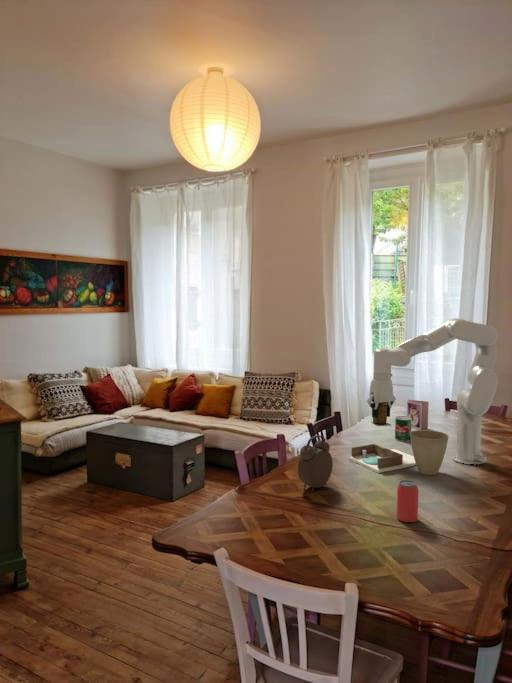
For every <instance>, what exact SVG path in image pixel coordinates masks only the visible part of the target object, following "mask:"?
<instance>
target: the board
mask: <svg viewBox="0 0 512 683" xmlns="http://www.w3.org/2000/svg"><path fill="white" fill-rule="evenodd" d="M390 450H391V451H394V452H397V453H399V454H402V455H403V463H402V464H401V465H396V466H391V467H386V468H381V469H378V458H383V457H381V456H379V455H376V454H374V453H372V454H366V450H363V455H361V456H355V457H352V456H349V457H348V460H349V461H351V462H354V463H355V464H357V463H358V465H359V464H360V466H362V467H364V468H366V469H368V470H370V471H372V472H374V471H375V473H377V474H379V473H381V474H382V473H385V471H386V472H389V471H396V470H399V469H406V468H410V467H415V466H417V465H416V462H415V459H414V455H411V454H408V453H405V452H403V451H400V450H398V449H396V448H393V449H390ZM414 465H415V466H414Z"/></svg>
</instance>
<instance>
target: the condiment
mask: <svg viewBox="0 0 512 683" xmlns="http://www.w3.org/2000/svg"><path fill="white" fill-rule="evenodd" d="M377 409H378V418H373V417H372V420H369V421H368V422H369V423H371V424H373V425H374V426H377V427H387V426H392V423H389V422H387V421H388V417H387V403H386V402H383V403H379V404H378V407H377Z"/></svg>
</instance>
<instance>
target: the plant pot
mask: <svg viewBox="0 0 512 683" xmlns="http://www.w3.org/2000/svg"><path fill="white" fill-rule="evenodd" d="M410 438H411V441H410V443H411V444H410V446H411V450H412V454H413V455H412V456H414V459H415V462H416V465H415V466H416V468H417V470H418V473H419V474H422V475H425V476H435V475H438V473H439V471H440V469H441V466H442V463H443V460H444V457H445V454H446V451H447V446H448V441H449V434H447V433H445V432H443V431H438V430H431V429H421V430H417V429H414V430H411V432H410Z"/></svg>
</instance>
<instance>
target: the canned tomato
mask: <svg viewBox="0 0 512 683" xmlns="http://www.w3.org/2000/svg"><path fill="white" fill-rule="evenodd" d="M394 419H395V420H394V422H395V423H394V439H395V440H396V441H399V442H411V438H410V432H412V428H411V419H412V418H410V417H407V415H406V416H405V415H398V416H397V415H396V416H395V417H394Z"/></svg>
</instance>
